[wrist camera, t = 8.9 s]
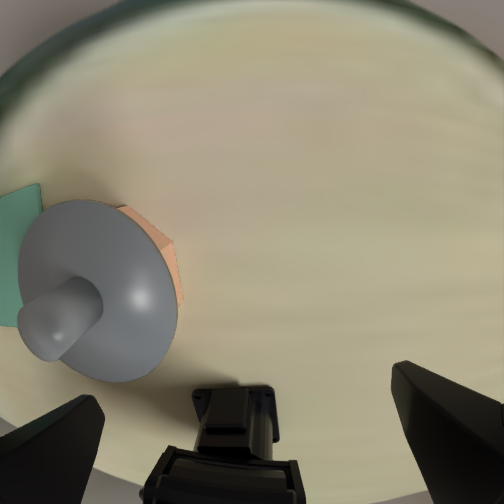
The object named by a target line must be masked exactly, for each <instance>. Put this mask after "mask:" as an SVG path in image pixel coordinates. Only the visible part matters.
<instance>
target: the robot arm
mask: <svg viewBox="0 0 504 504" xmlns="http://www.w3.org/2000/svg"><path fill="white" fill-rule="evenodd" d="M267 392H270V394H266V393H267ZM391 392H392V396H393V399H394V402H395V405H396V408H397V411H398V414H399V417H400V421H401V424H402V427H403V431H404V434H405V437H406V439H407V441H408V444H409V446H410V448H411V451H412V453H413V455H414V457H415V460H416V462H417V464H418V467H419V469H420V471H421V474H422V476H423V478H424V481H425V483H426V486H427V488H428V490H429V493H430V495H431V498H432V500H433V503H434V504H504V404H503V403H502V404H501V402H499V401H496V400H494V399H492V398H489V397H487V396H485V395H482V394H480V393H478V392H476V391H473V390H471V389H469V388H467V387H464V386H462V385H460V384H458V383H456V382H453V381H451V380H449V379H447V378H445V377H442V376H440V375H438V374H436V373H434V372H431V371H429V370H427V369H425V368H423V367H421V366H418V365H416V364H414V363H412V362H410V361H407V360H405V361H401V362H398V363H395V364H394V365H393V367H392V379H391ZM197 395H199V396H200V397H199V396H197ZM192 400H193V403H194V406H195V409H196V413H197V416H198V419H199V422H200V427H199V431H198V434H197V438H196V442H195V446H194V449H193V451H189V450H184V449H179V448H177V447H175V446H170V445H168V447H167V449H166V450H165V452H164V453H162V455H161V457H160V458H159V460H158V462H157V464H156V465H155V467H154V469H153V470H152V472H151V474H150V475H149V477H148V479H147V480H146V482H145V485H144V486H143V487H142V488H141V489H140V492H139V497H140V498H141V500H142V501H143V504H306V496H305V491H304V487H303V483H302V479H301V475H300V471H299V467H298V462H297V460H289V461H273V460H272V443H277V442H278V441H279V440H280V435H279V426H278V417H277V408H276V399H275V391H274V389H273V388H272V387H257V388H239V389H204V390H194V391H193V393H192ZM104 422H105V415H104V413H103V411H102V409H101V407H100V406H99V404H98V402H97V400H96V398H95V397H94V396H92V395H85V394H84V395H80V396H78V397H77V398H75V399H73V400H71V401H69V402H67V403H65V404H64V405H62V406H60V407H58V408H56V409H54V410H52V411H51V412H49V413H47V414H45V415H43V416H41V417H39V418H37V419H35V420H33V421H31V422H30V423H28V424H26V425H24V426H22V427H20V428H18V429H16V430H14V431H12V432H10V433H8V434H6V435H4V436H2V437H0V504H81V501H82V498H83V495H84V491H85V488H86V485H87V482H88V479H89V476H90V473H91V470H92V467H93V464H94V461H95V458H96V455H97V451H98V447H99V442H100V438H101V434H102V430H103V426H104Z"/></svg>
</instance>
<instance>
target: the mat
mask: <svg viewBox="0 0 504 504" xmlns="http://www.w3.org/2000/svg"><path fill="white" fill-rule="evenodd" d="M42 212H43V208H42V201H41V193H40V185H39V184H33V185H31V186H28V187H25V188H22V189H20V190H17V191H14V192H12V193H9V194H7V195H4V196H2V197H0V326H9V327H18V326H17V315H18V312H19V310H20V309H21V308H22V307H23V306H24V305H23V302H22V299H21V295H20V290H19V284H18V258H19V251H20V247H21V244H22V241H23V238H24V236H25V234H26V232H27V230H28V228H29V226H30V225H31V223H32V222H33V221H34V220H35V219H36V217H37V216H39V215H40V214H41V213H42Z"/></svg>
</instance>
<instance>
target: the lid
mask: <svg viewBox="0 0 504 504" xmlns="http://www.w3.org/2000/svg"><path fill="white" fill-rule="evenodd" d="M18 284H19V290H20V295H21V299H22V302H23V305H24V306H23V307H22V308H21V309H20V310H19V312H18V315H17V326H18V330H19V333H20V336H21V338H22V340H23V342H24V343H25V345H26V346H27V348H28V349H29V350H30V351H31V352H32V353H33V354H34V355H35V356H37V357H38V358H39V359H41V360H43V361H46V362H54V361H56V360H57V359H58V358H59V359H60V360H61V361H62V362H64V363H65V364H66V365H68V366H69V367H71V368H72V369H74V370H75V371H77V372H79V373H81V374H83V375H85V376H88V377H90V378H93V379H96V380H100V381H105V382H128V381H132V380H136V379H139V378H141V377H143V376H145V375H147V374H148V373H149V372H151V371H152V370H153V369H154V368H155V367H156V366H157V365H158V364H159V363H160V362H161V360H162V359H163V357H164V356H165V354H166V353H167V351H168V349H169V347H170V345H171V343H172V340H173V338H174V334H175V331H176V327H177V318H178V303H177V296H176V290H175V286H174V282H173V279H172V276H171V273H170V271H169V268H168V265H167V263H166V261H165V259H164V257H163V256H162V254H161V252H160V250H159V249H158V247H157V246H156V244H155V243H154V241H153V240H152V238H151V237H150V236H149V235H148V234H147V233H146V231H145V230H144V229H143V228H142V227H141V226H140V225H139V224H138V223H137V222H135V221H134V220H133V219H132V218H131V217H129V216H128V215H126V214H125V213H124V212H122V211H120V210H119V209H117V208H115V207H113V206H111V205H108V204H105V203H102V202H99V201H94V200H73V201H67V202H61V203H58V204H56V205H53V206H51V207H49V208H48V209H46V210H44V211H43V212H42V213H41V214H40V215H39V216H37V217H36V219H35V220H34V221H33V222H32V223H31V225H30V226H29V228H28V230H27V232H26V234H25V236H24V238H23V241H22V244H21V247H20V251H19V258H18Z"/></svg>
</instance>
